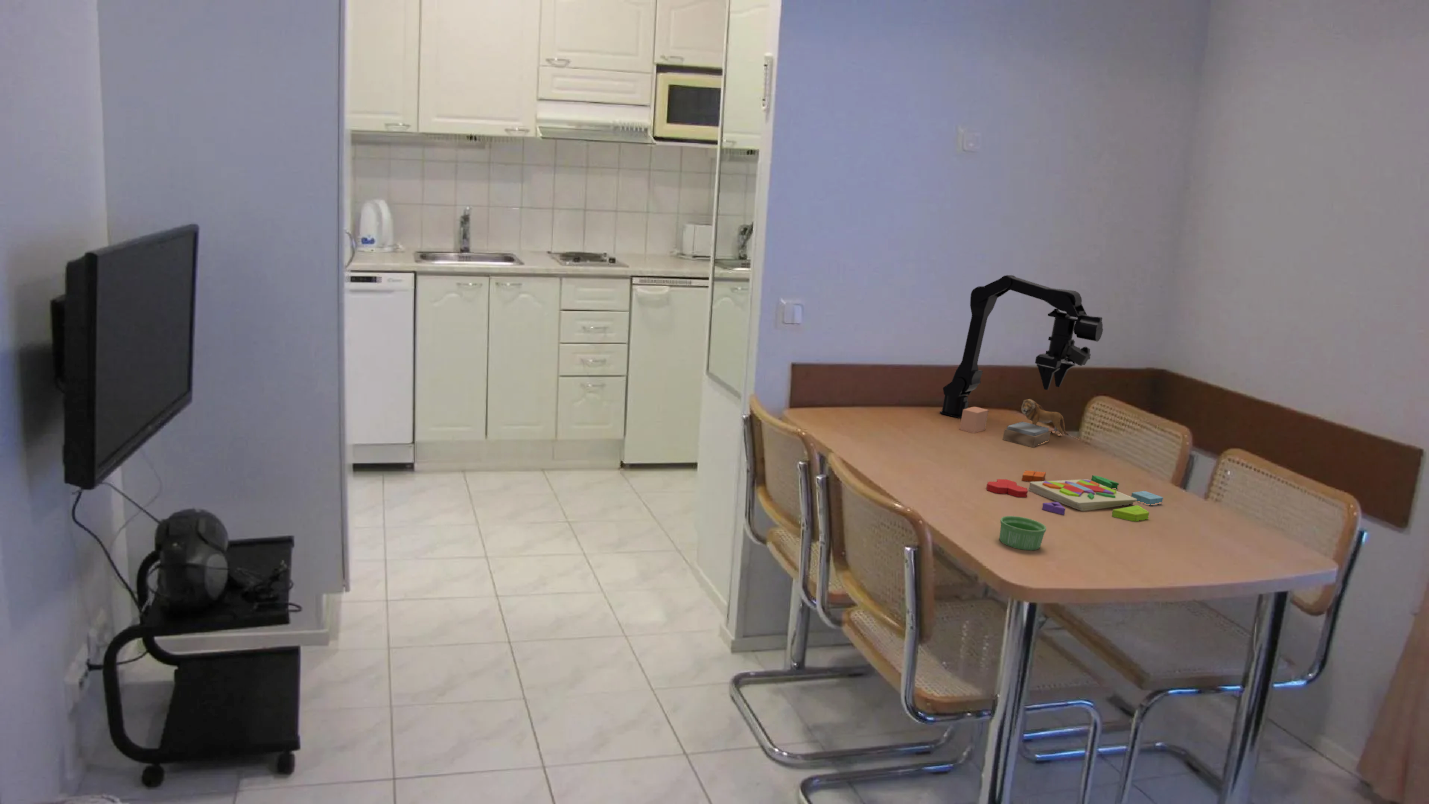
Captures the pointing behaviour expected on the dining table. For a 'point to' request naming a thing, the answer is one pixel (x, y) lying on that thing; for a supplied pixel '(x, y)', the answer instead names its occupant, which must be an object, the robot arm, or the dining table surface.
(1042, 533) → the ramekin
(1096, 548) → the dining table surface
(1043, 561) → the dining table surface
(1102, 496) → the pattern blocks set
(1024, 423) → the base brick
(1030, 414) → the lion figurine
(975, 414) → the terracotta brick
